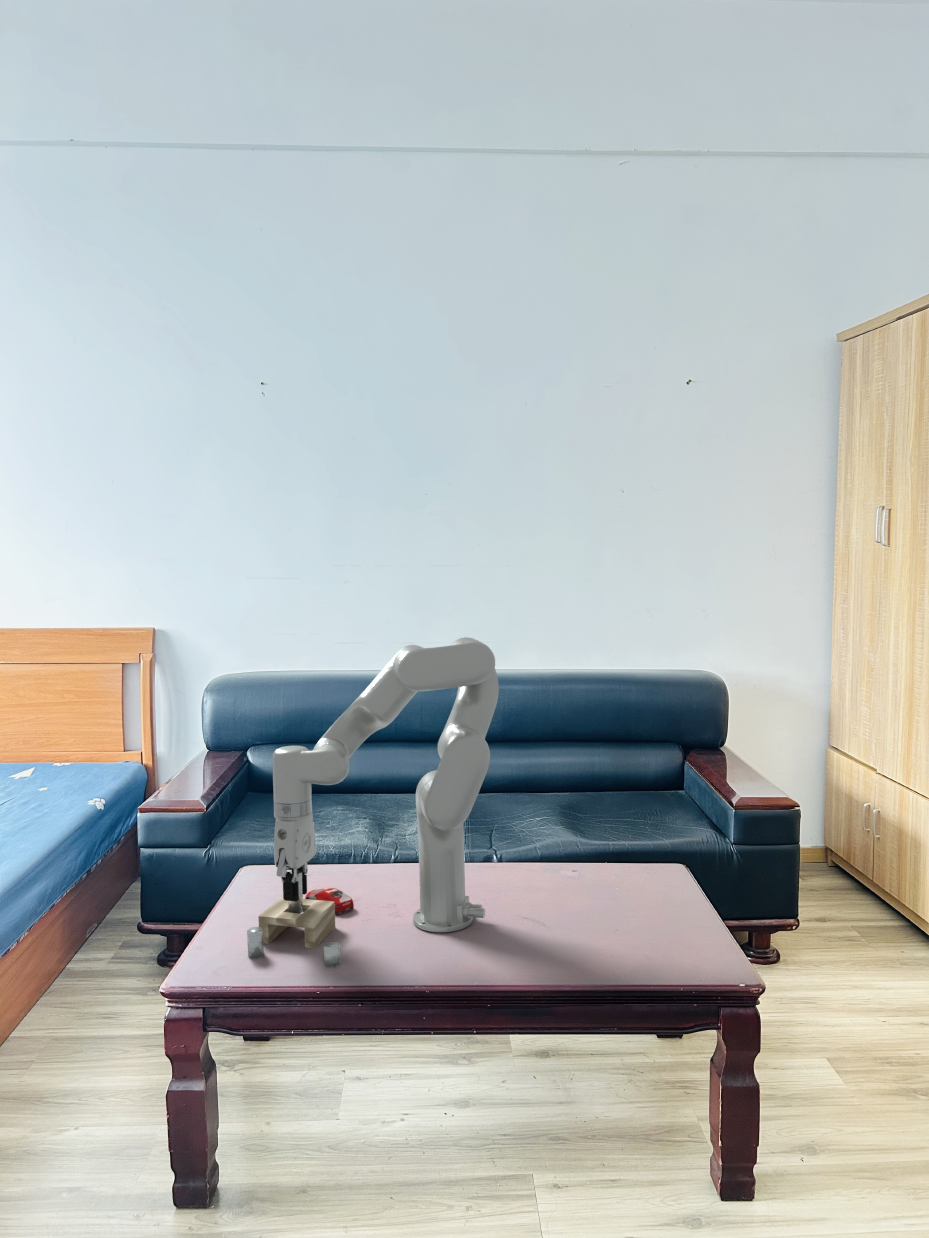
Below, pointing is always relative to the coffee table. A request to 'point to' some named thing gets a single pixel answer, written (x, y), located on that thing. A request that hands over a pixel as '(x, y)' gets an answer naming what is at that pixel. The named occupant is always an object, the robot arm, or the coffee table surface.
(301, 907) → the long pin
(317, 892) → the race car
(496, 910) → the coffee table surface
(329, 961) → the short pin
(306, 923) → the bridge
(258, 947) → the medium pin
